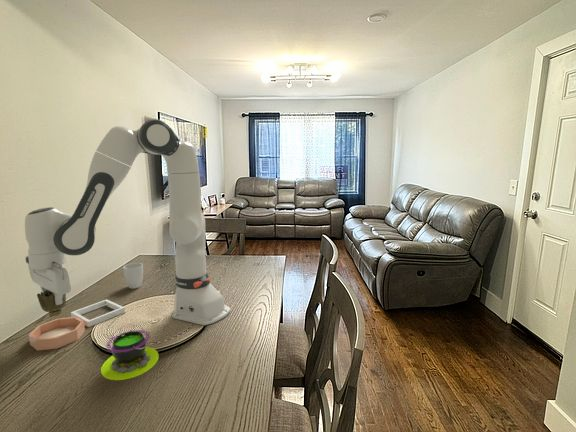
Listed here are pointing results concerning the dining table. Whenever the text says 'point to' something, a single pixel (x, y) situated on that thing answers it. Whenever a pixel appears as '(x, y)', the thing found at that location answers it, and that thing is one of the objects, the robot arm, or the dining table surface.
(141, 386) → the dining table surface
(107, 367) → the toy cauldron
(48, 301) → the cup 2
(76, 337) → the bowl
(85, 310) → the open white square frame
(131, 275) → the cup
